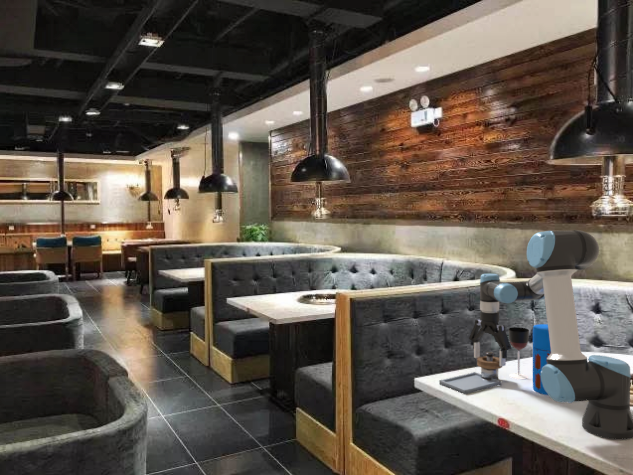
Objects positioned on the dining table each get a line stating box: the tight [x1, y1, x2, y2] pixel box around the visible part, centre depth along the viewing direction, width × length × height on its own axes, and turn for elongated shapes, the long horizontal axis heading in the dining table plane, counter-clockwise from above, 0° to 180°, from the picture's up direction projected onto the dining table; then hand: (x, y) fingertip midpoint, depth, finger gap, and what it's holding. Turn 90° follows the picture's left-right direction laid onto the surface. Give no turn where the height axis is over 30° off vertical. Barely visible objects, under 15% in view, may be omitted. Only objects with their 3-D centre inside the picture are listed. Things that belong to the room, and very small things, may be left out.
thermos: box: [532, 323, 551, 396], centre depth 203 cm, size 11×11×25 cm
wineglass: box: [508, 326, 530, 380], centre depth 221 cm, size 8×9×20 cm
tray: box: [438, 371, 502, 395], centre depth 213 cm, size 14×20×2 cm
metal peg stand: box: [480, 351, 500, 381], centre depth 218 cm, size 7×7×11 cm
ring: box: [476, 355, 503, 370], centre depth 218 cm, size 10×10×2 cm
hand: (489, 361), depth 218 cm, fingers open, 13 cm apart
